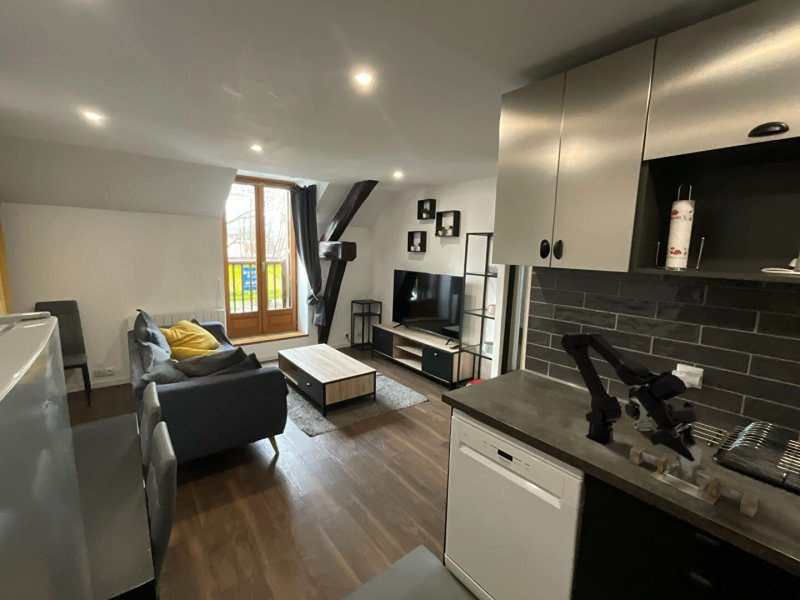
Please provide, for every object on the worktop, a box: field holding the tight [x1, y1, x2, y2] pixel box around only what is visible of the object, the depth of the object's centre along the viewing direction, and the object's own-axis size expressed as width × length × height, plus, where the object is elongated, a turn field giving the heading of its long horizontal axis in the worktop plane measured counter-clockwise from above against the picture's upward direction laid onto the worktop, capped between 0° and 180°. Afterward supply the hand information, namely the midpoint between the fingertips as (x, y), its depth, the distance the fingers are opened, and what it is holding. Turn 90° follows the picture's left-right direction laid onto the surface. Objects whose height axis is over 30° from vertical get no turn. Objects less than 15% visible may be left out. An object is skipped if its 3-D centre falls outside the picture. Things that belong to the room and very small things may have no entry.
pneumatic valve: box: [624, 398, 654, 432], centre depth 129 cm, size 6×12×12 cm, turn 94°
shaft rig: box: [628, 445, 760, 518], centre depth 100 cm, size 28×10×4 cm, turn 35°
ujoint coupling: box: [675, 442, 707, 484], centre depth 100 cm, size 7×4×10 cm
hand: (696, 458), depth 98 cm, fingers closed on ujoint coupling, 4 cm apart
